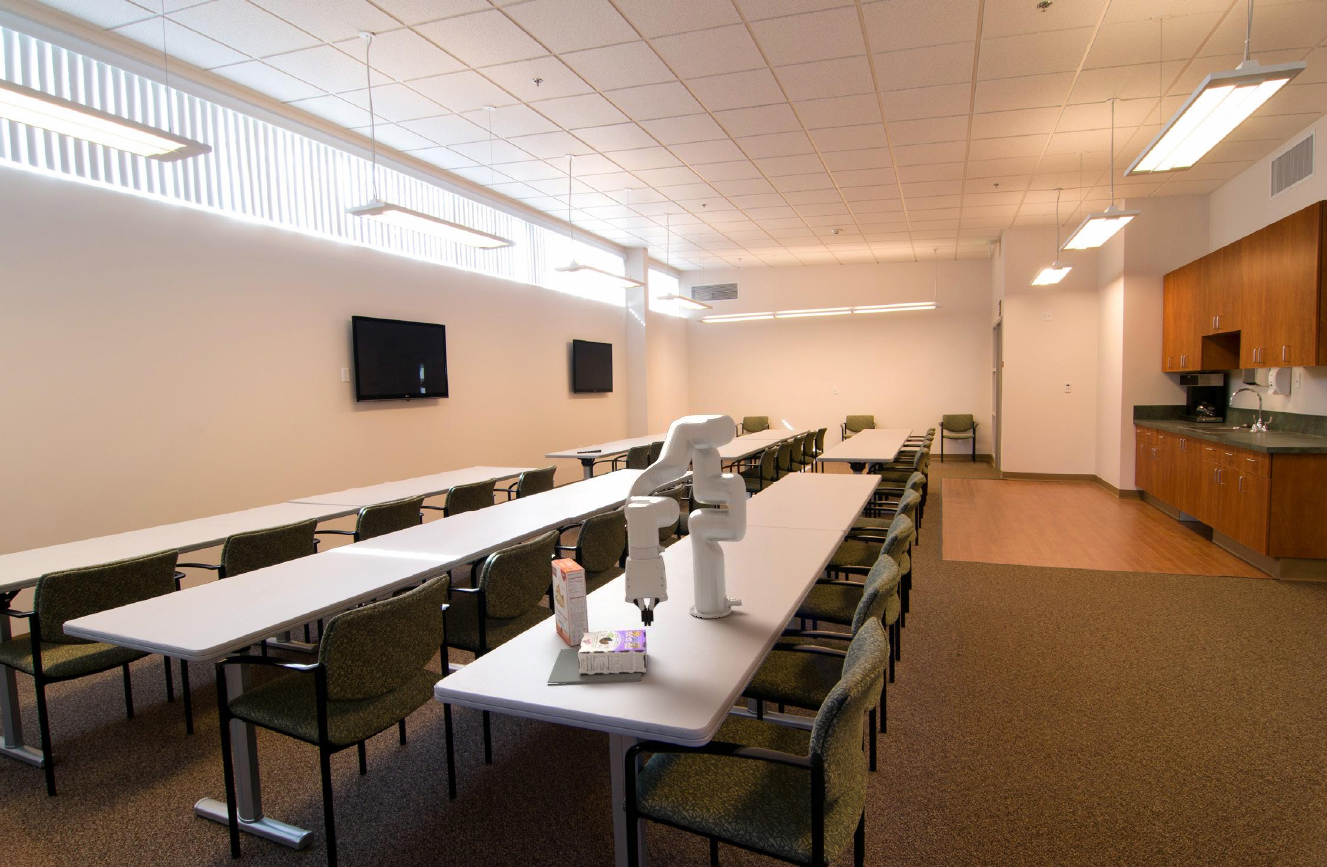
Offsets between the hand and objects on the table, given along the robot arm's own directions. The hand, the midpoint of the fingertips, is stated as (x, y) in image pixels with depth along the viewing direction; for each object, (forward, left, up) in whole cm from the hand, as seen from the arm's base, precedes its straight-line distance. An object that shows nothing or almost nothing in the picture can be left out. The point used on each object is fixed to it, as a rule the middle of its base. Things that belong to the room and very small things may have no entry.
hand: (647, 624), depth 167 cm
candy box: (0, 0, -7) cm, 7 cm away
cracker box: (+22, -20, -10) cm, 32 cm away
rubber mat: (+13, 0, -10) cm, 16 cm away
